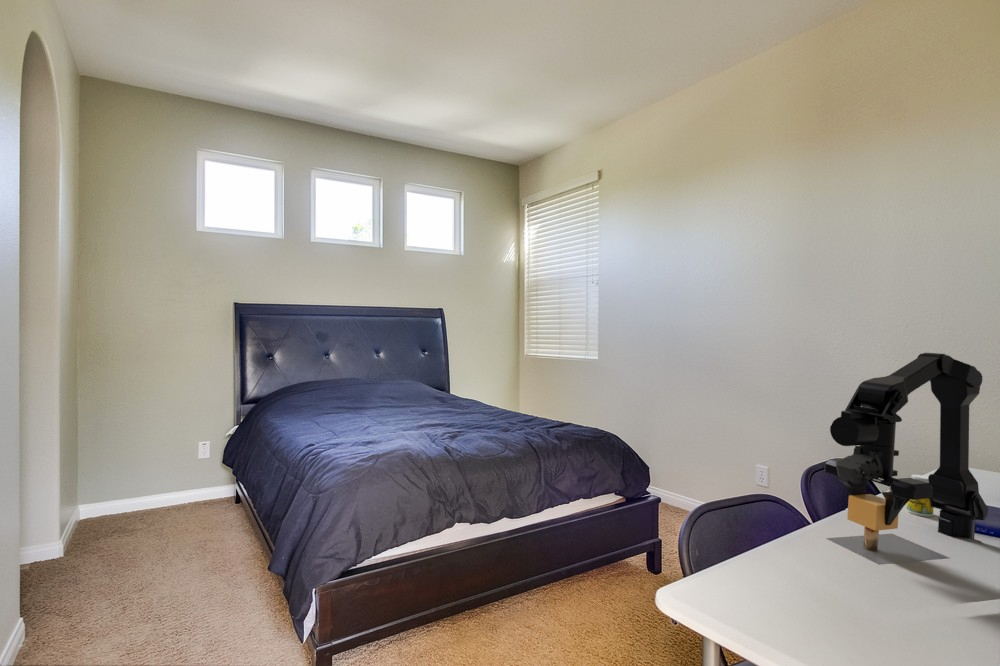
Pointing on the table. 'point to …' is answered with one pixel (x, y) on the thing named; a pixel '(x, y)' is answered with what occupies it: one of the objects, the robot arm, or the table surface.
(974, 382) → the robot arm
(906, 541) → the plate
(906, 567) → the table surface
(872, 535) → the copper post
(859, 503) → the cardboard cube
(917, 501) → the supplement bottle
